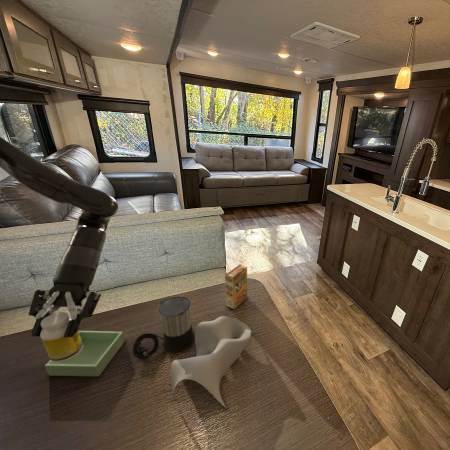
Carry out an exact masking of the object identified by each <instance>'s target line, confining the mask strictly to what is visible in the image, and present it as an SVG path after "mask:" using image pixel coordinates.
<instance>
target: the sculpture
mask: <svg viewBox="0 0 450 450" xmlns="http://www.w3.org/2000/svg"><path fill="white" fill-rule="evenodd" d="M251 333H253V331H252V329H251V328H250V327H249V326H248V325H247V324H246V323H244V322H243V321H241V320H239V319H236V318H233V317H230V316H225V315H222V316H218V317H217V318H216V319H214V320H209V321H201V322H199V323H198V324H197V326H196V328H195V331H194V343H195V352H196V353H195V354H196V355H195V356H193V357H187V358H183V359H174V360H173V361H172V362H171V364H170V374H169V375H170V383H171V389H172V393H173V395H175V390H176V386H177V385H178V384H179V382H181V381H183V380H191V381H194V382H197V383H198V384H199V385H201V386H202V387H204V388H205V389H206V390H207V392H209V393H210V394H211V395H212V396H213V398H215V399H216V400H217V401H218V403H219V404H221V406H223V407H224V408H227V406H226V404H225V403H224V401H223V398H222V396H221V391H220V385H221V381H222V379H223V377H224V375H225V373H226V372H227V371H228V370H229V369H230V367H231V366H232V365H233V364H234V363H235V362H236V360H237V359H238V358H239V356H240V355H241V353H242V352H243V351H244V350H245V348H246V346H247V345H248V343H249V340H250V339H251V335H252V334H251ZM173 398H174V400H175V399H176V397H175V396H173Z"/></svg>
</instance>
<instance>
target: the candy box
mask: <svg viewBox="0 0 450 450" xmlns="http://www.w3.org/2000/svg"><path fill="white" fill-rule="evenodd" d="M224 278H225V279H224V280H225V282H224V283H225V299H226V300H225V302H226V307H228V308H230V309H233V310H235V309H236V308H237V307H238V306H240V305H241V304H242V303H243V302H244V301H245V300H246V299H248V267H247V266H246V265H242V264H238V265H237V266H235V267H234V268H232V269H231V270H230V271H228V272H226V273H225V274H224Z"/></svg>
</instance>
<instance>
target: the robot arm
mask: <svg viewBox="0 0 450 450" xmlns="http://www.w3.org/2000/svg"><path fill="white" fill-rule="evenodd" d="M0 169H1V170H3V171H4V172H5V173H6V174H8V175H9V176H10V177H11V178H13V179H14V180H15V181H17V182H18V183H19V184H21V185H22V186H24V188H27V189H28V190H30V191H31V192H32V191H33V192H34V193H36V194H38V195H40V196H43V197H45V198H47V199H49V200H50V201H53V202H55V203H57V204H60V205H71V206H73V207H76V208H78V209H80V211H79V216H78V218H77V223H76V227H75V229H74V230H73V233H72V235H71V238H70V240H69V243H68V245H67V247H66V249H65V251H64V253H63V254H62V256H61V258H60V259H61V260H60V261H59V264H58V265H57V269H56V271H55V273H54V276H53V279H52V282H53V284H52V287H50V288H49V289H46V290H45V289H36V290H35V291H34V292H33V297H32V300H31V303H30V307H29V311H28V315H29V316H30V317H31V316H32V317H34V318H35V322H34V325H33V327H32V328H31V329H32V330H31V336H32V337H37V338H38V337H40V333H41V331H42V327H41V322H42V320H43V319H44V318H46V317H47V316H49V315H52V314H54V313H56V312H57V311H59V310H60V309H61V308H67V310H68V311H69V316H70V319H72V320H69V322H68V325H67V328H66V331H65V334H64V337H73V336H74V334H76V333H77V331H79V328H80V324H81V322H82V320H84V319H87V318H92V317H93V315H94V312H95V310H96V307H97V306H98V303H99V301H100V299H101V297H102V293H101V292H99V291H90V288H91V286H92V284H93V282H94V279H95V276H96V273H97V271H98V267H99V264H100V260H101V256H102V251H103V248H104V246H105V244H106V240H107V232H106V231H107V229H108V226H109V223H110V221H111V219H112V218H113V217H114V216H115V215H116V214H117V212H118V211H119V204H118V202H117V201H116V199H115V198H114V197H112V196H111V195H109V194H108V193H107V192H105V191H102V190H100V189H97V188H94V187H92V186H89V185H87V184H83V183H81V182H78V181H77V180H75V179H72V178H71V177H70V176H67V175H65V174H63V173H61V172H60V171H58V170H56V169H54V168H52V167H50V166H49V165H47V164H45V163H43V162H41V161H40V160H38V159H36V158H34V157H32V156H31V155H29V154H28V153H26V152H25V151H23V150H21V149H20V148H19V147H17V146H15V145H14V144H12V143H10V142H9V141H8V140H6V139H4V138H3V137H1V136H0ZM84 300H86V301H85V303H84V302H83V301H84Z"/></svg>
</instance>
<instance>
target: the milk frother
mask: <svg viewBox="0 0 450 450" xmlns="http://www.w3.org/2000/svg"><path fill="white" fill-rule="evenodd" d="M191 305H192V302H191V300H190V299H189V298H188V297H185V296H181V295H180V296H178V295H177V296H172V297H171V296H168V297H165V298H163V299H162V300H160V304H159V306H158V308H157V312H158V314H159V316H160V323H161V327H162V333H163V336H160V335H157V334H155V333H151V332H146V333H143V334H141V335H139V336H138V337H137V338H136V339H135V341H134V342H133V344H132V354H133V356H134V357H135V358H138V359H146V358H148V357H150V356H152V355H154V354H155V353H156V351H158V349H159V344H160V342H159V339H161V340H163V346H164V348H165V349H166V350H167V351H169V352H180V351H183V350H185V349H187V348H188V347H189V346H191V344H192V343H193V341H195V332H194V330H193V321H192V309H191ZM158 338H159V339H158ZM145 339H150V340H152V341H153V343H154V344H153V347H152V349H150V351H148V348H147V347H145V346H144V344H143V343H142V341H143V340H145Z"/></svg>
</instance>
